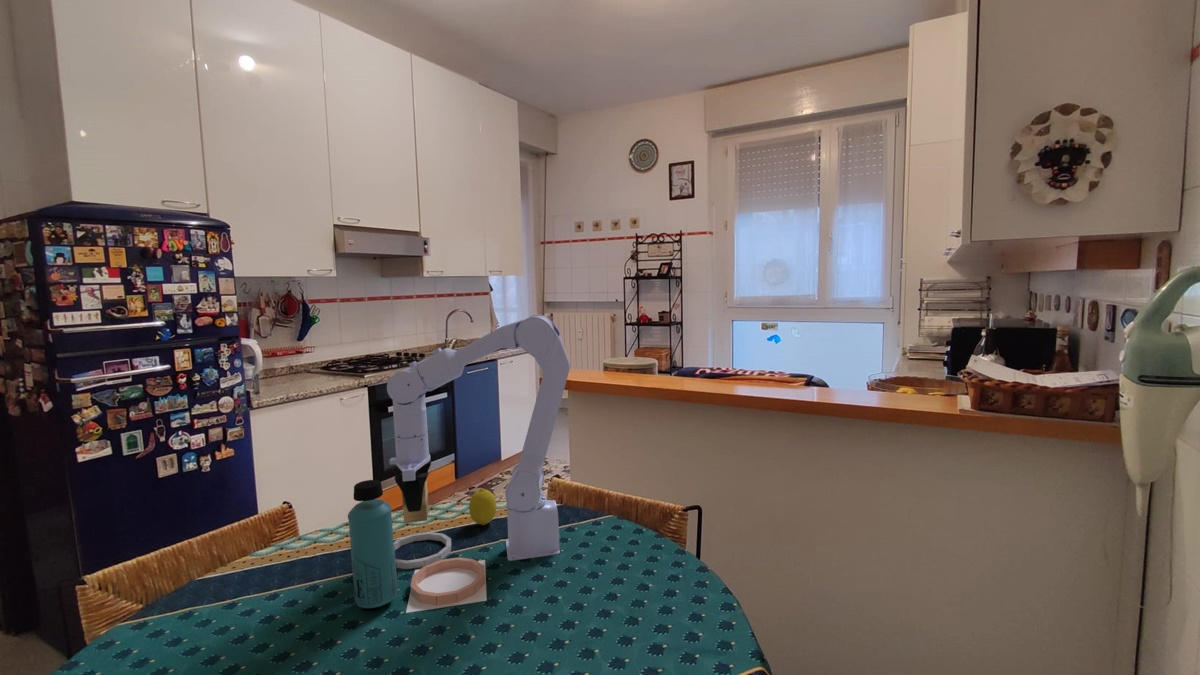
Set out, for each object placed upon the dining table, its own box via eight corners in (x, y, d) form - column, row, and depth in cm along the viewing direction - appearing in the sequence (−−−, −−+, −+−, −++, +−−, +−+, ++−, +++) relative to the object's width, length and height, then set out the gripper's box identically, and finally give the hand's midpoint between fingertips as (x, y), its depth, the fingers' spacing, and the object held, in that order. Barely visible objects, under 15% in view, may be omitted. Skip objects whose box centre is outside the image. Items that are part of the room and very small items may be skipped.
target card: (485, 562, 97) (485, 559, 97) (486, 602, 84) (486, 600, 84) (415, 571, 94) (415, 569, 94) (406, 615, 82) (405, 612, 82)
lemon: (500, 520, 114) (498, 483, 114) (492, 532, 109) (490, 493, 108) (475, 519, 115) (473, 483, 114) (466, 531, 109) (464, 493, 109)
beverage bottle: (408, 597, 86) (400, 476, 84) (378, 622, 80) (369, 492, 78) (375, 591, 88) (366, 473, 86) (344, 614, 82) (334, 488, 80)
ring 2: (484, 562, 96) (483, 554, 96) (485, 598, 85) (484, 588, 85) (415, 571, 93) (415, 563, 93) (407, 609, 82) (407, 600, 82)
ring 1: (452, 536, 107) (451, 529, 107) (449, 565, 96) (449, 557, 96) (390, 544, 105) (390, 536, 105) (380, 574, 94) (380, 566, 93)
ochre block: (428, 511, 102) (426, 476, 102) (426, 520, 98) (424, 483, 98) (406, 514, 101) (404, 478, 101) (403, 523, 97) (401, 485, 97)
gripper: (394, 426, 104) (398, 493, 106) (381, 447, 90) (386, 524, 92) (431, 423, 106) (435, 489, 107) (425, 443, 92) (430, 519, 93)
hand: (416, 505), depth 100 cm, fingers closed on ochre block, 4 cm apart
